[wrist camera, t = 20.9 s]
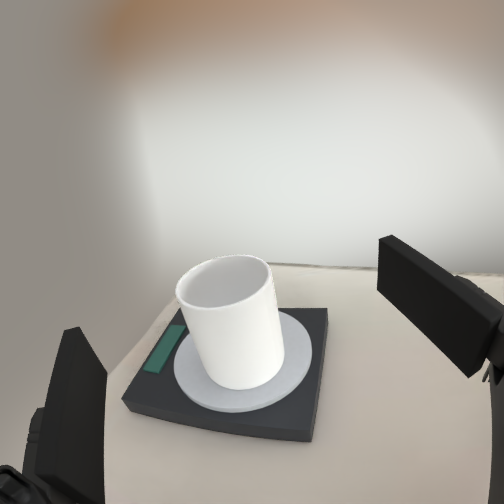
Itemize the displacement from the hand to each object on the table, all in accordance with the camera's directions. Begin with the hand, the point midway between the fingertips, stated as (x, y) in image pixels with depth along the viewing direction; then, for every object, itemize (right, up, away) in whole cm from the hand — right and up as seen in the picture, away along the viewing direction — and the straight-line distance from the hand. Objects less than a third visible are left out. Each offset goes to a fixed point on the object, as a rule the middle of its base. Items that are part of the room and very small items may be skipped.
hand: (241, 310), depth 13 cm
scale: (-2, -11, +22) cm, 25 cm away
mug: (-1, -8, +21) cm, 22 cm away
